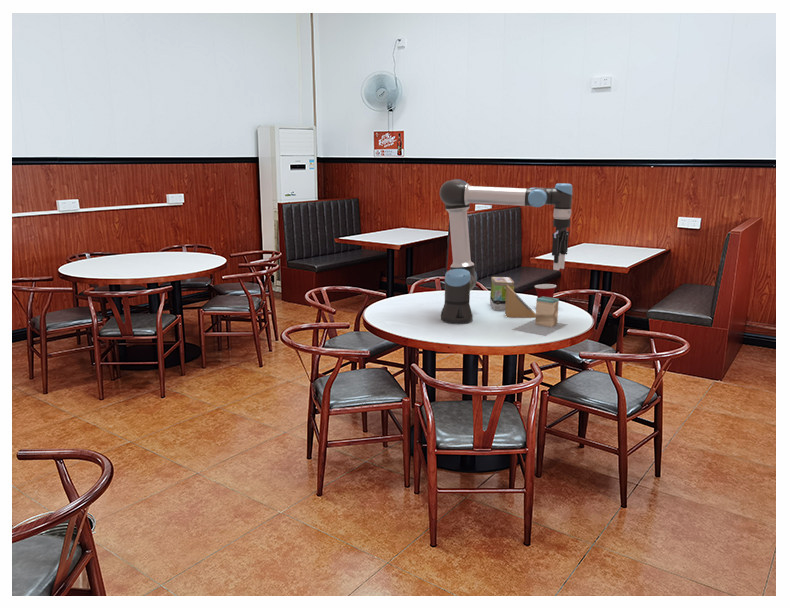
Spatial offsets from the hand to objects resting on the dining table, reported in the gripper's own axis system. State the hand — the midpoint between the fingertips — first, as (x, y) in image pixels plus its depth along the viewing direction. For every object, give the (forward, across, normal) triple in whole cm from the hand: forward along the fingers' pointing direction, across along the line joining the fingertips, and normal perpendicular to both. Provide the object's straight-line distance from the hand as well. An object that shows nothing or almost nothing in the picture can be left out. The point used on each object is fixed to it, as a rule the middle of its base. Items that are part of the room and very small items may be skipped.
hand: (558, 269), depth 286 cm
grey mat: (+25, -16, 0) cm, 29 cm away
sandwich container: (+25, -2, +16) cm, 30 cm away
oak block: (+24, -10, 0) cm, 26 cm away
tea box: (+25, +8, +33) cm, 42 cm away
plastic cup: (+25, +20, +15) cm, 35 cm away
